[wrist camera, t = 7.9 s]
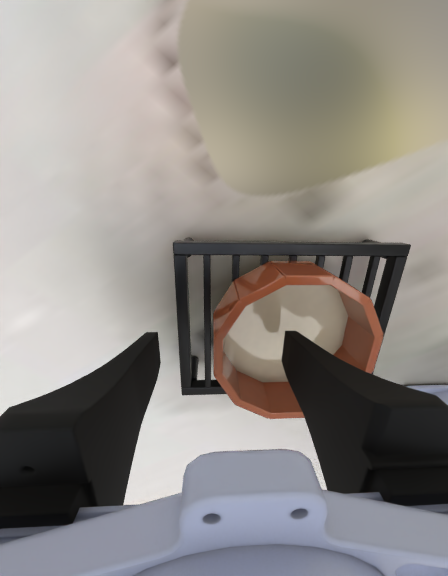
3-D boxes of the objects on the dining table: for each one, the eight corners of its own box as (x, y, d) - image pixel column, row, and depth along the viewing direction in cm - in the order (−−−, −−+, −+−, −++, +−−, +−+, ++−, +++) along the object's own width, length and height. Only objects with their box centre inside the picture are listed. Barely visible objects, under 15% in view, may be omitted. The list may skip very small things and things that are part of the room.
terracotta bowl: (363, 261, 14) (402, 275, 11) (335, 380, 17) (360, 416, 14) (213, 260, 13) (213, 275, 11) (213, 384, 16) (213, 421, 14)
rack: (375, 237, 17) (411, 244, 14) (345, 363, 20) (368, 390, 17) (180, 235, 16) (172, 242, 13) (186, 366, 20) (181, 395, 17)
